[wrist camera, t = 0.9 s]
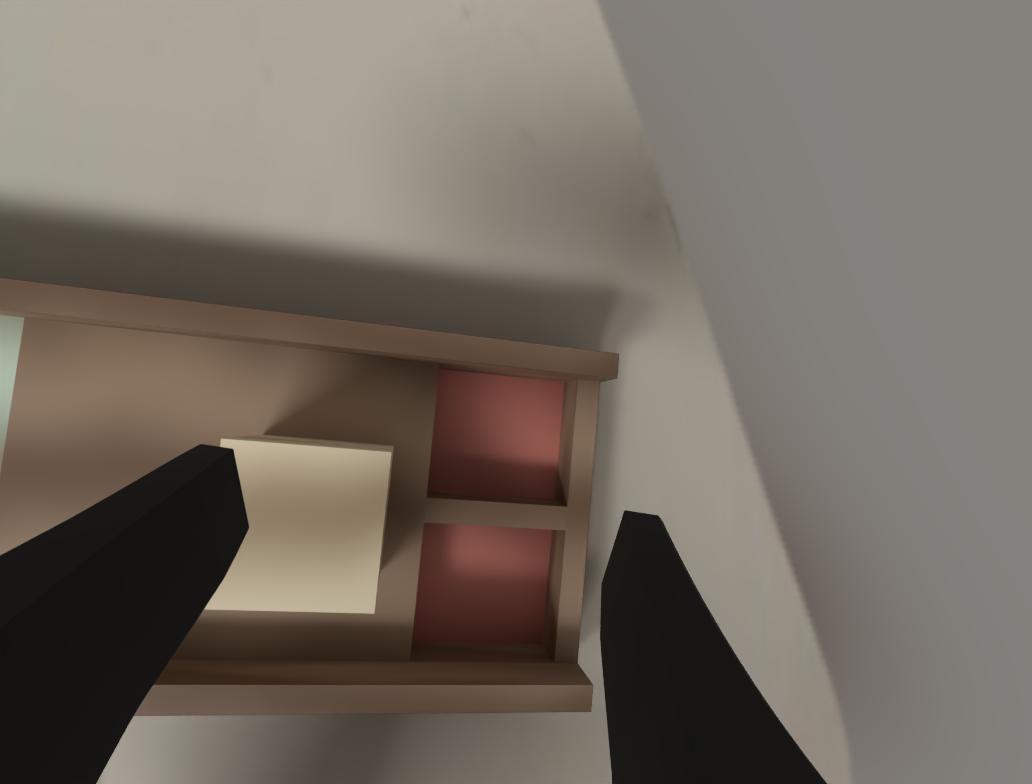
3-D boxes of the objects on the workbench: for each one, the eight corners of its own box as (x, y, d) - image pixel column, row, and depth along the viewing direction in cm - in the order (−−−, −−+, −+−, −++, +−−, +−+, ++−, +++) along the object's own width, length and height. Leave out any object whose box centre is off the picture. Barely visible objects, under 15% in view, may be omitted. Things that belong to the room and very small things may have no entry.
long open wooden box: (559, 662, 26) (591, 711, 22) (-238, 655, 20) (-417, 720, 16) (583, 364, 27) (619, 353, 22) (-170, 276, 21) (-321, 238, 17)
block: (380, 571, 22) (374, 613, 17) (246, 565, 21) (199, 609, 16) (394, 445, 22) (391, 452, 18) (262, 434, 22) (221, 438, 17)
